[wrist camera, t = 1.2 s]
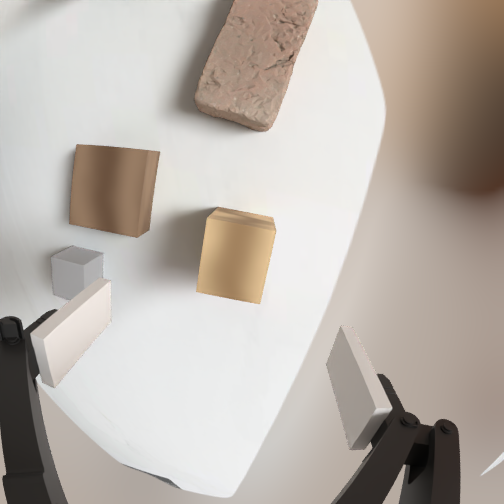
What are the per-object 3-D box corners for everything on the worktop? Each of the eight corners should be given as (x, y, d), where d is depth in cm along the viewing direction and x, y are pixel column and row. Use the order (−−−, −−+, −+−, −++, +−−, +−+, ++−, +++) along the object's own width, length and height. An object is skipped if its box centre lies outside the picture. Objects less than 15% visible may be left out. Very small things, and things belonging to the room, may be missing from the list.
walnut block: (86, 217, 33) (69, 223, 29) (94, 145, 31) (76, 144, 27) (150, 229, 33) (137, 237, 29) (161, 151, 31) (148, 150, 27)
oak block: (208, 267, 34) (196, 291, 27) (218, 206, 32) (207, 217, 25) (260, 277, 34) (259, 304, 28) (272, 217, 32) (276, 231, 26)
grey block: (73, 280, 35) (53, 294, 30) (72, 245, 34) (51, 256, 29) (103, 288, 35) (84, 305, 31) (103, 252, 34) (83, 265, 29)
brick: (271, 134, 30) (273, 128, 26) (197, 113, 30) (186, 104, 25) (313, 14, 26) (320, -5, 21) (245, -4, 25) (243, -25, 21)
